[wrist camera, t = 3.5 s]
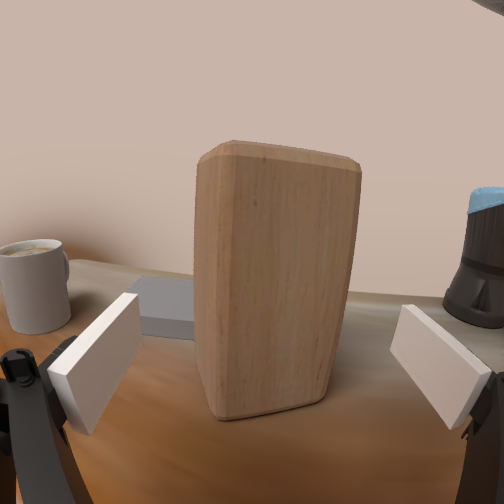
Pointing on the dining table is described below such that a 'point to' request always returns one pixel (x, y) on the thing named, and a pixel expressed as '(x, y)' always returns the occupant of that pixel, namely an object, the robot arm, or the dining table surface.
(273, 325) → the block
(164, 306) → the stand
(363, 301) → the dining table surface
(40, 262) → the coffee mug
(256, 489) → the dining table surface
